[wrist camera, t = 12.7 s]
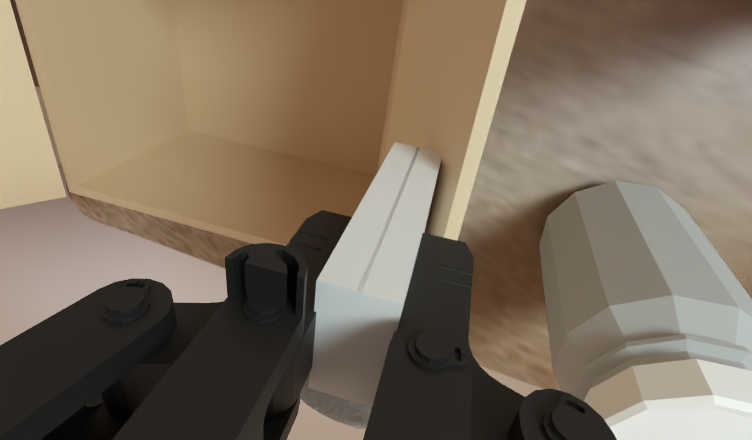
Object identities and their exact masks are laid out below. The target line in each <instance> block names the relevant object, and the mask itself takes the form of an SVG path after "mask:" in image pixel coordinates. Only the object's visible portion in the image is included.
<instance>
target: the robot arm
mask: <svg viewBox="0 0 752 440" xmlns="http://www.w3.org/2000/svg"><path fill="white" fill-rule="evenodd" d="M440 164H441V157H440V156H439V154H438V153H437V151H434V150H430V149H425V148H420V147H416V146H411V145H406V144H402V143H397V142H395V143H394V144H393V146H392V148H391V150H390V151H389V153H388V155H387V157H386V159H385V160H384V162H383V164H382V166H381V167H380V169H379V171H378V173H377V174H376V176H375V178H374V180H373V182H372V183H371V185H370V187H369V189H368V190H367V192H366V194H365V196H364V197H363V199H362V201H361V203H360V204H359V206H358V208H357V210H356V212H355V213H354V215H353V217H350V216H345V215H341V214H337V213H333V212H329V211H325V210H321V211H319V212H318V213H316V214H314V215H312V216H310V217H308V218H306V220H305V221H304V222H303V224H302V225H301V226H300V228H299V229H298V230H297V233H295V234H294V236H293V237H292V238H291V240H290V241H289V244H287V245H286V246H284V245H280V244H272V243H259V244H250V245H247V246H244V247H242V248H239V249H236V250H235V251H233V252H232V253H230V254H229V255H228V256H226V257H225V266H226V280H227V294H228V298H226V300H225V301H224V302H218V303H173V298H172V294H171V291H170V290H169V289H168V288H167V287H166V286H165V285H164V284H163V283H160V282H157V281H154V280H151V279H128V280H123V281H118V282H114V283H112V284H110V285H108V286H105V287H103V288H100V289H98V290H96V291H95V292H93V293H91V294H89V295H88V296H86V297H84V298H82V299H81V300H79V301H77V302H76V303H74V304H72V305H70V306H69V307H67V308H65V309H63V310H61V311H60V312H58V313H56V314H54V315H53V316H51V317H49V318H47V319H46V320H44V321H42V322H41V323H39V324H37V325H35V326H33V327H32V328H30V329H28V330H26V331H25V332H23V333H21V334H20V335H18V336H16V337H14V338H13V339H11V340H9V341H7V342H5V343H4V344H2V345H0V440H286V439H287V437H288V435H289V432H290V430H291V428H292V425H293V423H294V421H295V419H296V416H297V414H298V409H299V404H300V393H301V391H302V388H303V386H304V384H305V382H306V380H307V377H308V375H309V386H308V388H310V389H314V390H317V391H320V392H324V393H327V394H330V395H334V396H337V397H340V398H343V399H347V400H350V401H354V402H357V403H360V404H364V405H367V406H370V407H372V409H371V413H370V417H369V420H368V424H367V428H366V431H365V435H364V439H363V440H617V439H616V437H615V435H614V433H613V432H612V430H611V429H610V427H609V426H608V425H607V423H606V422H605V420H604V419H603V417H602V416H601V415H599V414H598V413H597V412H596V411H595V410H594V409H593V408H592V407H591V406H589V405H588V404H587V403H586V402H584V401H582V400H580V399H579V398H577V397H575V396H573V395H571V394H569V393H566V392H562V391H558V390H554V389H543V390H536V391H534V392H532V393H531V394H529V395H528V396H526V397H524V396H522V395H520V394H519V393H517V392H515V391H513V390H512V389H510V388H508V387H506V386H505V385H502V384H501V383H500V382H498V381H497V380H495V379H494V378H492V377H491V376H489V375H488V374H487V373H486V372H485V371H484V370H483V369H482V368H481V367H480V366H479V364H478V363H477V361H476V360H475V358H474V357H473V355H472V352H471V350H470V347H469V340H468V334H469V318H470V303H471V286H472V272H473V256H472V254H471V252H470V251H469V249H468V247H467V245H466V243H464V242H460V241H456V240H452V239H448V238H443V237H439V236H435V235H431V234H427V233H425V229H426V224H427V220H428V216H429V211H430V207H431V203H432V198H433V194H434V190H435V185H436V181H437V177H438V172H439V168H440Z"/></svg>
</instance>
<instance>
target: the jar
mask: <svg viewBox="0 0 752 440" xmlns="http://www.w3.org/2000/svg"><path fill="white" fill-rule="evenodd" d="M539 250H540V259H541V268H542V277H543V286H544V295H545V304H546V313H547V322H548V332H549V341H550V350H551V359H552V368H553V371H554V373H555V376H556V378H557V381H558V383H559V386H560V388H561V390H562V392H566V393H569V394H571V395H573V396H575V397H577V398H579V399H580V400H582V401H584V402H586V403H587V404H588V405H589V406H591V407H592V408H593V409H594V410H595V411H596V412H597V413H598V414H599V415H601V416H602V417H603V419H604V420H605V422H606V423H607V425H608V426H609V427H610V429H611V430H612V432H613V433H614V435H615V437H616V439H617V440H752V299H751V297H750V296H749V295H748V293H747V292H746V291H745V289H744V288H743V287H742V285H741V284H740V283H739V281H738V280H737V279H736V277H735V276H734V275H733V273H732V272H731V271H730V269H729V268H728V267H727V265H726V264H725V262H724V261H723V260H722V258H721V257H720V256H719V254H718V253H717V252H716V250H715V249H714V248H713V246H712V245H711V244H710V242H709V241H708V240H707V238H706V237H705V236H704V234H703V233H702V232H701V230H700V229H699V228H698V226H697V225H696V223H695V222H694V221H693V219H692V218H691V217H690V215H689V214H688V213H687V211H686V210H685V209H684V208H683V207H681V206H680V205H679V204H677V203H676V202H675V201H674V200H672V199H671V198H670V197H669V196H667V195H666V194H665V193H663V192H662V191H661V190H660V189H658V188H657V187H653V186H647V185H640V184H633V183H626V182H619V181H612V182H609V183H605V184H602V185H599V186H595V187H592V188H588V189H585V190H581V191H578V192H574V193H573V194H572V195H571V196H570V197H569V198H568V199H567V200H565V201H564V202H563V203H562V204H561V205H560V206H559V207H557V208H556V209H555V210H554V211H553V212H552V213H551V214H550V215H548V216H547V220H546V223H545V226H544V230H543V233H542V236H541V240H540V243H539Z"/></svg>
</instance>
